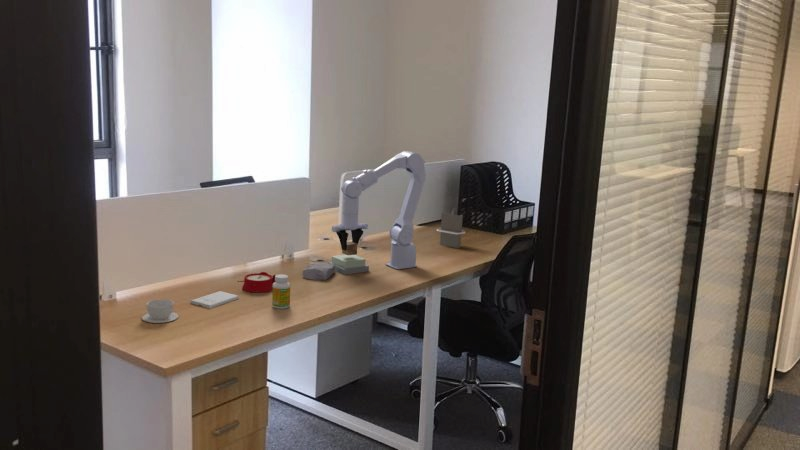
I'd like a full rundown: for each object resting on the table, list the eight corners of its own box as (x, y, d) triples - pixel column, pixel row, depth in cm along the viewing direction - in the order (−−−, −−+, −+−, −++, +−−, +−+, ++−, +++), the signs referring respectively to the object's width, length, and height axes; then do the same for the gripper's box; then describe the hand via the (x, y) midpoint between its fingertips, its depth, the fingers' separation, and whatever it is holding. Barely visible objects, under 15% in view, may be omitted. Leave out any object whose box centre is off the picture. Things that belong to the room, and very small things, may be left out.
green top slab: (351, 260, 277) (352, 253, 277) (365, 265, 270) (365, 259, 270) (331, 262, 272) (332, 256, 271) (344, 268, 265) (345, 261, 264)
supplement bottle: (279, 310, 221) (280, 279, 219) (268, 305, 225) (269, 275, 223) (293, 306, 225) (294, 276, 223) (282, 302, 229) (283, 272, 227)
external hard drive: (238, 300, 230) (209, 310, 220) (219, 295, 234) (190, 304, 224) (238, 295, 230) (210, 304, 219) (219, 290, 234) (190, 299, 223)
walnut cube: (351, 251, 273) (351, 241, 272) (356, 254, 269) (357, 243, 269) (342, 253, 270) (342, 242, 269) (347, 255, 267) (348, 244, 266)
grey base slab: (352, 265, 279) (353, 259, 279) (368, 272, 270) (368, 266, 270) (327, 268, 273) (328, 262, 272) (343, 276, 264) (343, 269, 263)
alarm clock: (233, 279, 239) (264, 261, 250) (236, 295, 241) (266, 277, 253) (256, 285, 233) (287, 266, 245) (259, 302, 236) (289, 283, 247)
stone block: (301, 283, 257) (328, 280, 255) (299, 270, 256) (326, 267, 254) (311, 276, 268) (337, 273, 266) (309, 263, 268) (335, 260, 266)
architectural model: (436, 238, 332) (438, 206, 329) (485, 247, 319) (488, 214, 316) (414, 245, 315) (416, 212, 312) (465, 255, 303) (468, 221, 300)
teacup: (182, 321, 208) (182, 305, 207) (147, 326, 202) (146, 310, 202) (172, 311, 216) (172, 296, 215) (138, 315, 211) (137, 300, 210)
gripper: (339, 216, 260) (337, 253, 262) (372, 213, 268) (371, 249, 271) (329, 213, 265) (328, 249, 268) (362, 210, 274) (361, 245, 276)
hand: (349, 249), depth 270 cm, fingers closed on walnut cube, 4 cm apart
